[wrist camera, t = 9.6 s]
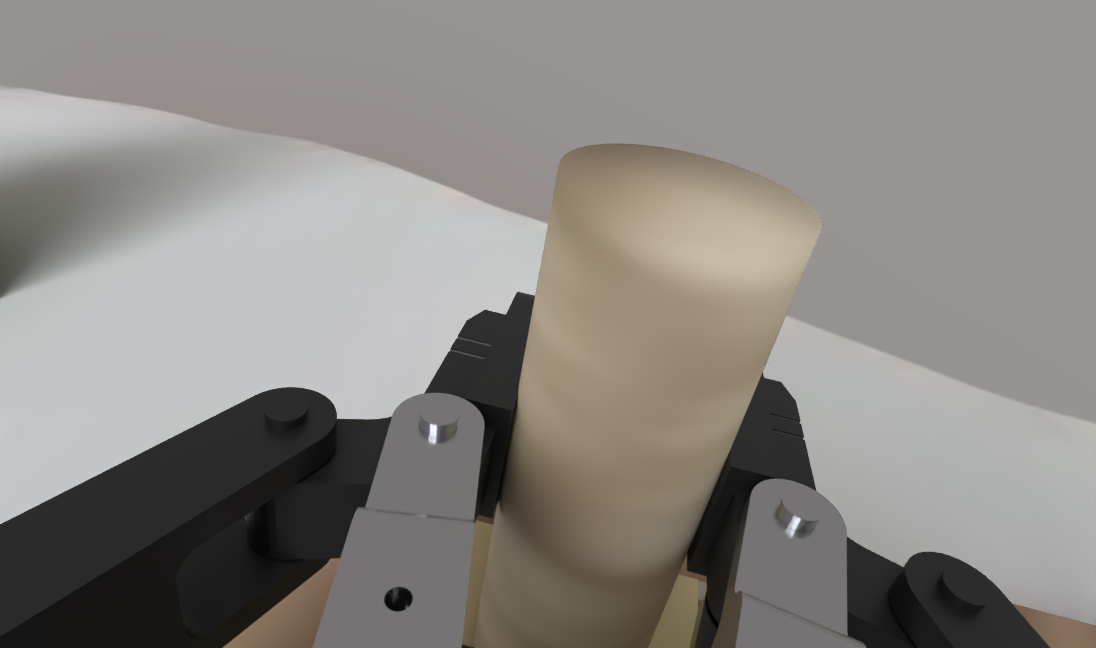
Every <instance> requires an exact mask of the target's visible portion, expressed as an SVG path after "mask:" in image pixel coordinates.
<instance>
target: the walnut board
mask: <svg viewBox="0 0 1096 648" xmlns="http://www.w3.org/2000/svg"><path fill="white" fill-rule="evenodd" d="M496 509H497V507H496ZM495 514H496V510H495V513H494V516H493V519H491V518H488V517H484V516H480V515H478V517H477V521H481V522H484V523H488V524H492V525H494V520H495ZM339 561H340V558H333V559H330V560H329V562H328V563H327V564H326V565H325V566H324V567H323V568H322V569H321V570H319V571H318V572H317V573H316V574H314V575H313V576H312V577H311V578H309V579H308V580H307V581H306V582H304V583H303V584H302V585H301V586H299V587H298V588H297V589H296V590H294V591H293V592H292V593H291V594H289V595H288V596H287V597H286V598H284V599H283V600H282V601H281V602H279V603H278V604H277V605H275V606H274V607H273V608H272V609H270V610H269V611H268V612H267V613H265V614H264V615H263V616H262V617H260V618H259V619H258V620H257V621H255V622H254V623H253V624H252V625H250V626H249V627H248V628H247V629H245V630H244V631H243V632H242V633H240V634H239V635H238V636H237V637H235V638H234V639H233V640H232V641H230V642H229V643H228V644H227V645H225V646H224V647H223V648H312V647H313V644H314V641H315V638H316V634H317V631H318V628H319V625H320V622H321V618H322V615H323V612H324V609H325V606H326V602H327V599H328V596H329V593H330V590H331V586H332V583H333V580H334V577H335V574H336V570H337V567H338V564H339ZM679 575H683V576H687V577H690V578H694V579H698V609H699V606H700V604H701V601H702V599H703V597H704V595H705V593H706V590H707V577H706V576H704V575H700V574H696V573H693V572H689V571H687V555H686V558H685V560H684V563H683V565H682V567H681V570H680V572H679ZM1013 605H1014V607H1015V608H1016V609H1017V610H1018V611H1019V612H1020V613H1021V615H1022V616H1023V617H1024V618H1025V619H1026V620H1027V621H1028V623H1029V624H1030V625H1031V626H1032V627H1033V628H1034V629H1035V631H1036V632H1037V633H1038V634H1039V635H1040V636H1041V637H1042V639H1043V640H1044V641H1045V642H1046V643H1047V644H1048V645H1049V647H1050V648H1096V626H1095V625H1091V624H1087V623H1083V622H1079V621H1076V620H1072V619H1068V618H1064V617H1060V616H1057V615H1053V614H1049V613H1045V612H1041V611H1038V610H1034V609H1030V608H1026V607H1022V606H1018V605H1015V604H1013Z"/></svg>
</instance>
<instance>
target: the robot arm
mask: <svg viewBox="0 0 1096 648" xmlns="http://www.w3.org/2000/svg"><path fill="white" fill-rule="evenodd" d="M534 299H535V296H533V295H529V294H525V293H521V292H517V293H516V295H515V297H514V299H513V301H512V304H511V306H510V308H509V310H508V312H507V314H506V315H504V314H500V313H496V312H492V311H488V310H484V311H482V312H481V313H479V314H477V315H475V316H474V317H472V318H470V319H469V320H467V321H466V323H465V325H464V326H463V328H462V330H461V331H460V333H459V335H458V338H457V339H456V340H455V342H454V343H453V345H452V347H451V350H450V352H448V354H447V356H446V357H445V359H444V361H443V362H442V364H441V366H440V368H439V369H438V371H437V373H436V374H435V376H434V378H433V380H432V381H431V383H430V385H429V386H428V388H427V390H426V392H425V393H424V394H420V395H417V396H414V397H411V398H409V399H407V400H405V401H404V402H402V403H401V404H400V405H399V406H398V407H397V408H396V410H395V411H394V413H393V416H392V417H388V418H383V419H370V420H364V419H337V413H336V409H335V407H334V405H333V403H332V402H331V401H330V400H329V399H328V398H327V397H325V396H324V395H322V394H320V393H318V392H316V391H313V390H309V389H305V388H296V387H286V388H277V389H272V390H268V391H265V392H262V393H260V394H257V395H255V396H253V397H251V398H249V399H247V400H245V401H243V402H241V403H239V404H237V405H235V406H233V407H231V408H229V409H227V410H225V411H223V412H221V413H220V414H218V415H216V416H214V417H212V418H210V419H208V420H206V421H204V422H202V423H200V424H198V425H196V426H194V427H192V428H190V429H188V430H186V431H184V432H182V433H180V434H178V435H176V436H174V437H172V438H170V439H168V440H166V441H164V442H162V443H160V444H158V445H156V446H154V447H152V448H150V449H148V450H146V451H144V452H142V453H140V454H138V455H137V456H135V457H133V458H131V459H129V460H127V461H125V462H123V463H121V464H119V465H117V466H115V467H113V468H111V469H109V470H107V471H105V472H103V473H101V474H99V475H97V476H95V477H93V478H91V479H89V480H87V481H85V482H83V483H81V484H79V485H77V486H75V487H73V488H71V489H69V490H67V491H65V492H63V493H61V494H59V495H57V496H55V497H53V498H52V499H50V500H48V501H46V502H44V503H42V504H40V505H38V506H36V507H34V508H32V509H30V510H28V511H26V512H24V513H22V514H20V515H18V516H16V517H14V518H12V519H10V520H8V521H6V522H4V523H2V524H0V648H223V647H224V646H225V645H227V644H228V643H229V642H230V641H232V640H233V639H234V638H235V637H237V636H238V635H239V634H240V633H242V632H243V631H244V630H245V629H247V628H248V627H249V626H250V625H252V624H253V623H254V622H255V621H257V620H258V619H259V618H260V617H262V616H263V615H264V614H265V613H267V612H268V611H269V610H270V609H272V608H273V607H274V606H275V605H277V604H278V603H279V602H281V601H282V600H283V599H284V598H286V597H287V596H288V595H289V594H291V593H292V592H293V591H294V590H296V589H297V588H298V587H299V586H301V585H302V584H303V583H304V582H306V581H307V580H308V579H309V578H311V577H312V576H313V575H314V574H316V573H317V572H318V571H319V570H321V569H322V568H323V567H324V566H325V565H326V564H327V563H328V562H329V560H330V559H333V558H340V561H339V564H338V567H337V570H336V574H335V577H334V580H333V583H332V586H331V590H330V593H329V596H328V599H327V602H326V606H325V609H324V612H323V615H322V618H321V622H320V625H319V628H318V631H317V634H316V638H315V641H314V644H313V647H312V648H474V647H470V646H467V645H463V644H462V638H463V629H464V620H465V611H466V602H467V593H468V584H469V575H470V566H471V556H472V547H473V538H474V529H475V523H476V520H477V517H478V515H480V516H484V517H488V518H491V519H493V516H494V513H495V510H496V507H497V504H498V501H499V497H500V491H501V486H502V480H503V475H504V469H505V464H506V458H507V453H508V447H509V442H510V436H511V431H512V425H513V420H514V414H515V409H516V403H517V398H518V388H519V382H520V376H521V371H522V365H523V360H524V354H525V349H526V343H527V338H528V332H529V327H530V321H531V316H532V310H533V305H534ZM799 423H800V417H799V413H798V409H797V404H796V401H795V400H794V398H793V397H792V396H791V394H790V393H789V392H788V391H787V389H786V388H785V387H784V385H783V384H782V383H781V382H779V381H775V380H770V379H766V378H764V376H763V372H762V375H761V377H760V380H759V382H758V384H757V387H756V389H755V392H754V394H753V396H752V399H751V401H750V404H749V406H748V408H747V411H746V413H745V416H744V418H743V420H742V423H741V425H740V428H739V430H738V432H737V435H736V437H735V440H734V442H733V445H732V447H731V449H730V452H729V454H728V456H727V459H726V461H725V464H724V466H723V468H722V471H721V473H720V476H719V478H718V480H717V483H716V485H715V488H714V490H713V492H712V495H711V497H710V500H709V502H708V505H707V507H706V509H705V512H704V514H703V517H702V519H701V521H700V524H699V526H698V529H697V531H696V533H695V536H694V538H693V541H692V543H691V545H690V548H689V550H688V553H687V571H689V572H693V573H696V574H700V575H704V576H706V577H707V590H706V593H705V595H704V597H703V599H702V601H701V604H700V606H699V609H698V612H697V616H696V621H695V625H694V630H693V634H692V638H691V643H690V647H689V648H1050V647H1049V645H1048V644H1047V643H1046V642H1045V641H1044V640H1043V639H1042V637H1041V636H1040V635H1039V634H1038V633H1037V632H1036V631H1035V629H1034V628H1033V627H1032V626H1031V625H1030V624H1029V623H1028V621H1027V620H1026V619H1025V618H1024V617H1023V616H1022V615H1021V613H1020V612H1019V611H1018V610H1017V609H1016V608H1015V607H1014V605H1013V604H1012V603H1011V602H1010V601H1009V600H1008V599H1007V597H1006V596H1005V595H1004V594H1003V593H1002V592H1001V591H1000V589H999V588H998V587H997V586H996V585H995V584H994V583H993V582H992V581H990V580H989V579H988V578H987V577H986V576H985V575H983V574H982V573H981V572H979V571H978V570H977V569H975V568H973V567H972V566H970V565H968V564H967V563H965V562H963V561H961V560H959V559H956V558H954V557H951V556H949V555H945V554H942V553H936V552H921V553H917V554H915V555H913V556H912V557H911V558H910V559H909V560H908V561H907V563H906V564H905V566H904V567H902V566H900V565H898V564H896V563H894V562H892V561H890V560H888V559H886V558H884V557H882V556H880V555H878V554H876V553H874V552H872V551H870V550H868V549H866V548H864V547H862V546H861V545H859V544H857V543H856V542H854V541H853V540H851V539H850V538H848V537H847V532H846V526H845V523H844V520H843V518H842V517H841V515H840V513H839V512H838V510H837V509H836V508H835V507H834V506H833V505H832V504H831V503H830V501H828V500H827V499H826V498H825V497H824V496H822V495H821V494H819V493H818V492H816V488H815V483H814V479H813V475H812V470H811V466H810V461H809V457H808V453H807V448H806V444H805V440H803V437H804V435H803V431H802V426H801V424H799Z"/></svg>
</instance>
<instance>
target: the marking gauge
mask: <svg viewBox="0 0 1096 648" xmlns="http://www.w3.org/2000/svg"><path fill="white" fill-rule="evenodd" d="M821 230H822V222H821V219H820V217H819V215H818V213H817V212H816V211H815V210H814V209H813V208H812V207H811V205H810V204H808V203H807V202H806V201H805V200H804V199H802V198H801V197H800V196H798V195H797V194H795V193H793V192H792V191H790V190H789V189H787V188H785V187H784V186H782V185H780V184H778V183H776V182H774V181H772V180H770V179H768V178H766V177H763V176H761V175H759V174H756V173H754V172H751V171H749V170H746V169H744V168H741V167H738V166H735V165H733V164H729V163H726V162H723V161H720V160H716V159H713V158H709V157H706V156H702V155H698V154H693V153H689V152H684V151H679V150H674V149H669V148H662V147H655V146H647V145H637V144H599V145H591V146H585V147H581V148H577V149H575V150H572V151H570V152H569V153H567V154H566V155H564V156H563V158H562V159H561V160H560V163H559V167H558V173H557V178H556V184H555V189H554V195H553V200H552V206H551V211H550V217H549V222H548V228H547V233H546V239H545V244H544V250H543V255H542V261H541V266H540V272H539V277H538V283H537V288H536V294H535V299H534V305H533V310H532V316H531V321H530V327H529V332H528V338H527V343H526V349H525V354H524V360H523V365H522V371H521V376H520V382H519V388H518V398H517V403H516V409H515V414H514V420H513V425H512V431H511V436H510V442H509V447H508V453H507V458H506V464H505V469H504V475H503V480H502V486H501V491H500V497H499V501H498V504H497V509H496V514H495V520H494V525H492V524H488V523H484V522H481V521H477V520H476V523H475V529H474V538H473V547H472V556H471V566H470V575H469V584H468V593H467V602H466V611H465V620H464V629H463V638H462V644H463V645H467V646H470V647H474V648H689V647H690V643H691V638H692V634H693V630H694V625H695V621H696V616H697V612H698V579H694V578H690V577H687V576H683V575H679V572H680V570H681V567H682V565H683V563H684V560H685V558H686V555H687V553H688V550H689V548H690V545H691V543H692V541H693V538H694V536H695V533H696V531H697V529H698V526H699V524H700V521H701V519H702V517H703V514H704V512H705V509H706V507H707V505H708V502H709V500H710V497H711V495H712V492H713V490H714V488H715V485H716V483H717V480H718V478H719V476H720V473H721V471H722V468H723V466H724V464H725V461H726V459H727V456H728V454H729V452H730V449H731V447H732V445H733V442H734V440H735V437H736V435H737V432H738V430H739V428H740V425H741V423H742V420H743V418H744V416H745V413H746V411H747V408H748V406H749V404H750V401H751V399H752V396H753V394H754V392H755V389H756V387H757V384H758V382H759V380H760V377H761V375H762V372H763V370H764V367H765V365H766V363H767V360H768V358H769V355H770V353H771V351H772V348H773V346H774V343H775V341H776V339H777V336H778V334H779V331H780V329H781V327H782V324H783V322H784V319H785V317H786V314H787V312H788V310H789V307H790V305H791V302H792V300H793V297H794V295H795V292H796V290H797V288H798V286H799V283H800V281H801V278H802V276H803V274H804V271H805V269H806V266H807V264H808V261H809V259H810V257H811V254H812V252H813V249H814V247H815V244H816V242H817V240H818V237H819V235H820V233H821Z"/></svg>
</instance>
